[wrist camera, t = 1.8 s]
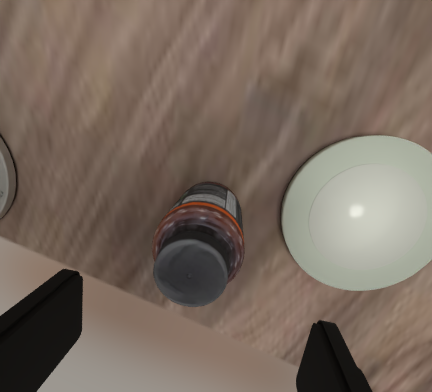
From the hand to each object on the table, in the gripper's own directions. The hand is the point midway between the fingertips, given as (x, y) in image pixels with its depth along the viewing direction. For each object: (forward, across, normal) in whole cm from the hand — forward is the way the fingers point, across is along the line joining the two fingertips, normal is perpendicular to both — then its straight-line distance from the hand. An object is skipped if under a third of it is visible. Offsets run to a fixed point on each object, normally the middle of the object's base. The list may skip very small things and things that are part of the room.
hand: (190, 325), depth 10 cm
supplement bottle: (+15, +1, 0) cm, 15 cm away
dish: (+15, -12, -2) cm, 19 cm away
